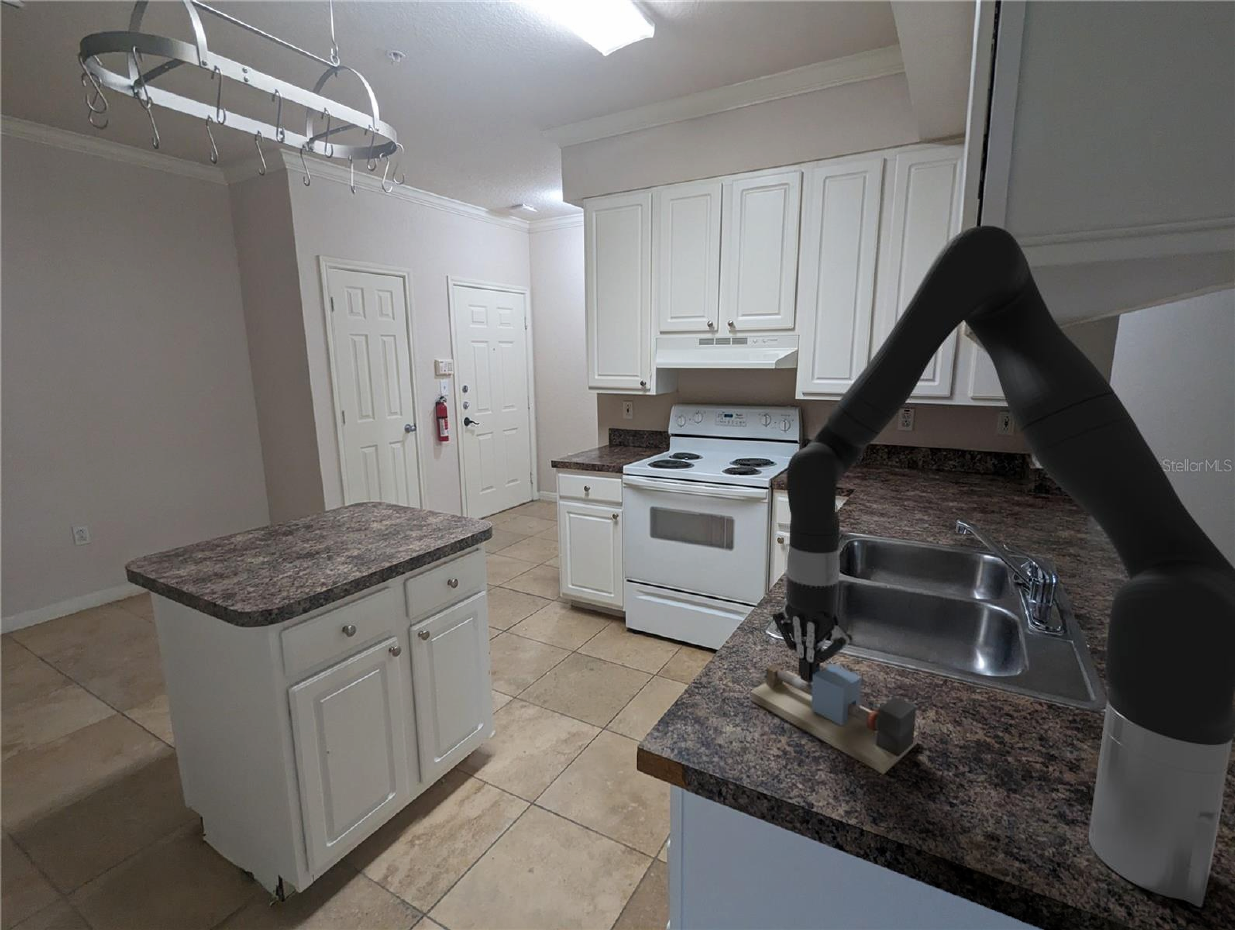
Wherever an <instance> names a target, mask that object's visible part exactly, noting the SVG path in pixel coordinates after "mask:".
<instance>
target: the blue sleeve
mask: <svg viewBox="0 0 1235 930" xmlns="http://www.w3.org/2000/svg"><path fill="white" fill-rule="evenodd" d="M862 683H863V677H862V676H861V675H858V674H857V673H854V672H851V671H849V670H847V669H845V668H843V667H840V666H837V665H835V664H833V663H829V664H828V665H827V666H825V667H823V668H820V671H818V672H816V673H815V674H813V682H812V708H811V710H813V711H815V712H817V713H818V714H820V715H822V716H824V717H826V718H828V719H830V720H832V721H834V722H836V723H838V724H840V725H841V726H842V725H844V724H845V723H846V722H847V716H848V705H850V704H854V705H856V706H858V707H860V705H861V702H862V701H861V700H862V686H863V685H862Z"/></svg>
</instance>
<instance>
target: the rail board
mask: <svg viewBox="0 0 1235 930" xmlns="http://www.w3.org/2000/svg"><path fill="white" fill-rule="evenodd" d="M765 672H766V673H765V682H764V683H762V684H761V685H759V686H757V687H756V688H754V689H752V690H750V692H749V693H750V694H749V695H750V697H749V701H752V702H753V703H755V704H757V705H759V706H760V707H762V708H764V709H766V710H768V711H769V712H771V713H773V714H774V715H777V716H779V717H780V718H782V719H784V720H785V721H787V722H789V723H791V724H793V725H795V726H796V727H798V728H800V729H801V730H804V731H805V732H807V733H808V734H810V735H812V736H814V737H816V738H818V739H820V740H822V741H823V742H825V743H827V744H829V745H830V746H832V747H834V748H835V749H838V750H839V751H841V752H842V753H845V754H846V755H848V756H850V757H852V758H854V759H855V760H857V761H859V762H861V763H863V764H864V765H866V766H868V767H870V768H871V769H873V770H875V771H877V772H879V773H880V774H882V775H885V774H886V773H887V772H888V771H889V770H890V769H891V768H892V767H893V766H895V764H897V763H898V762H899V761H900V760H901V759H902V758H903V757H904V756H905V755H907V753H909V751H910V750H912V749H913V748H914V747H915V746H916V745H917V744H918V743H919V734H920V733H919V732H917V731H915V724H916V712H917V706H916V705H914V704H911V703H910V702H907V701H906V700H905V701H904V700H902V699H900V698H897V697H896V696H893V697H892V698H890V699H889V700H888V701H887V702H885V703H884V704H883V705H881V706H880V707H878V711H876V710H871V709H869V708H867V707H865V706H863V705H861V704H860V707H858V706H856V705H854V704H850V705H848V716H847V722H846V723H845V724H844V725H842V726H841V725H840V724H838V723H836V722H834V721H832V720H830V719H828V718H826V717H824V716H822V715H820V714H818V713H817V712H815V711H813V710H811V708H812V683H813V682H812V683H808V682H806V681H804V680H802V679H801V675H798V674H795V673H794V672H791V671H789V670H784V667H783V666H782V665H780V664H778V663H773V664H771V665H769V666H768V667H765Z"/></svg>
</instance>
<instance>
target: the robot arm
mask: <svg viewBox="0 0 1235 930" xmlns="http://www.w3.org/2000/svg"><path fill="white" fill-rule="evenodd" d="M1025 255H1026V254H1024V252H1023V250H1022V249H1021V246H1020V244H1019V242H1018V241H1017V240H1016V238H1015V237H1014V236H1013V235H1012V234H1011V233H1010V232H1009V231H1008V230H1005V228H1001V227H998V226H996V225H979V226H978V225H977V226H974V227H970V228H967V229H965V230H963V231H961V232H959V233H958V234H956V235H955V236H954V237H951V239H950V240H949V241H947V242H946V243H945V244H944V245H943V247H942V248H941V249H940V250H939V252H938V254H937V255H936V257H935V258H934V260H933V262H932V263H931V265H930V267H929V269H927V271H926V273H925V275H924V277H923V279H922V281H921V282H920V284H919V286H918V287H917V289H916V291H915V293H914V294H913V296H912V297H911V300H910V301H909V303H908V305H906V308H905V310H904V311H903V313H902V314H901V316H900V317H899V319H898V320H897V322H896V324H895V325H894V326H893V328H892V330H891V331H890V333H889V335H888V336H887V337H886V339H885V340H884V342H883V343H882V345H881V346H880V348H879V349H878V351H876V353H875V354H874V356H873V357H872V358H871V360H870V361H869V363H868V364H867V365H866V367H865V368H864V369H863V370H862V372H861V373H860V374H859V375H858V377H857V378H856V379H855V381H853V383H852V384H851V386H850V387H849V388H848V389H847V390H846V392H845V393H844V394H843V396H842V397H840V399H839V400H838V402H837V404H836V405H834V407H833V409H832V410H831V411H830V413H829V414H828V417H827V422H826V423H825V424H824V426H822V428H821V429H820V430H819V431H818V432H817V434H816V435H815V436H814V437H813V439H811V441H810V442H809V443H808V444H807V445H806V446H804V447H803V448H801V449H799V450H797V451H796V452H795V453H794V454H793V455H792V456H791V458H790V460H789V462H788V465H787V469H786V470H787V471H786V491H787V492H786V493H787V499H788V507H789V512H790V521H789V522H790V523H789V542H788V543H789V547H788V548H789V549H788V552H787V560H786V586H785V587H786V589H785V599H786V600H785V601H786V602H787V603H786V604H785V607H784V609H783V610H781V611H777V612H776V613H774V614H773V615H772V619H773V620H772V621H774V623H775V625H776V627H777V629H778V631H779V634H780V635H781V636H782V638H783V640H784V642H785V644H786V646H787V648H788V649H789V650H791V651H795V653H796V655H797V657H798V674H799V675H798V676H800V677H801V679H802V680H804V681H806V682H808V683H813V674H815V673H816V672H818V671H820V670H821V664H823V663H825V662H826V661H828V660H830V659H832V658H834V656H836V655H837V654H838V653H839V652H840V651H842V650H843V649H844V648H846V646H848V645H849V644H850V643H851V642H852V641H853V636H852V635H851V634H850V633H846V634H845V633H844V631H843V630H842V629H841V628H840V627H839V625H840V623H839V622H840V621H839V619H838V616H837V610H838V605H839V589H840V587H839V586H840V585H839V584H840V569H841V568H840V567H841V566H840V565H841V564H840V562H841V561H840V551H839V549H840V548H839V546H840V545H839V544H840V517H839V514H838V513H837V512H836V505H837V503H836V502H837V486H838V483H839V482H840V481H841V480H842V478H843V477H844V476H845V475H846V474H847V473H848V472H849V470H850V469H851V467H853V465H854V464H855V462H856V461H857V460H858V458H859V457H860V455H861V454H862V453H863V451H864V450H865V448H866V447H867V446H868V445H870V444H871V443H872V442H873V441H874V440H875V439H876V438H877V437H878V436H879V434H881V433H882V431H883V430H884V429H885V428H886V427H887V426H888V424H889V423H890V422H891V421H892V419H894V417H895V416H896V415H897V414H898V413H899V411H901V408H903V406H904V405H905V403H906V402H907V401H908V399H909V398H910V396H911V395H912V394H913V392H914V390H915V389H916V386H917V384H918V383H919V381H920V379H921V378H922V376H923V374H924V372H925V371H926V369H927V367H928V365H929V364H930V362H931V360H932V358H933V357H935V356H934V355H935V354H936V353H937V351H938V350H939V348H940V347H941V346H942V345H943V343H944V342H945V341H946V340H947V338H948V337H950V335H951V334H952V333H953V331H954V330H955V329H957V328H958V326H960V324H961V323H963V322H965V324H966V325H967V326H968V327H969V329H970V330H971V332H972V333H973V334H974V336H976V339H977V340H978V341H979V343H981V345H982V347H983V348H984V349H985V351H986V353H987V354H988V356H989V358H990V359H991V361H992V363H993V364H992V365H993V367H994V368H995V371H996V374H997V377H998V380H999V381H998V382H999V384H1000V387H1001V390H1002V393H1003V396H1004V398H1005V401H1006V405H1007V407H1008V408H1009V411H1010V414H1011V416H1012V418H1013V421H1014V422H1015V424H1016V426H1017V429H1018V430H1019V432H1020V433H1021V435H1022V436H1023V437H1022V438H1023V439H1024V441H1025V442H1026V444H1027V446H1028V447H1029V449H1030V451H1031V453H1032V455H1033V456H1034V458H1035V460H1036V461H1037V462H1038V464H1039V465H1040V467H1041V468H1042V469H1043V470H1044V472H1045V473H1046V474H1047V475H1048V476H1049V478H1051V479H1052V481H1053V482H1054V483H1055V484H1057V486H1058V487H1059V488H1060V489H1062V490H1063V491H1064V492H1065V493H1066V494H1067V495H1068V496H1069V497H1070V498H1071V499H1072V500H1073V501H1074V502H1076V503H1077V504H1078V506H1080V507H1081V508H1082V509H1083V510H1084V511H1085V512H1086V513H1087V514H1089V516H1091V517H1092V519H1094V521H1095V522H1096V523H1097V524H1098V525H1099V527H1100V528H1101V529H1102V531H1103V532H1104V533H1105V535H1106V536H1107V538H1108V540H1109V541H1110V543H1111V544H1112V547H1113V548H1114V550H1115V552H1116V554H1117V555H1118V557H1119V559H1120V561H1121V563H1122V565H1123V568H1124V569H1125V571H1126V574H1127V576H1128V578H1129V580H1126V582H1124V583H1123V584H1122V585H1121V587H1119V589H1118V590H1117V592H1116V593H1115V596H1114V598H1113V601H1112V605H1111V608H1110V615H1109V619H1108V620H1109V621H1108V628H1107V629H1108V630H1107V640H1106V651H1105V652H1106V653H1105V661H1104V664H1105V665H1104V674H1105V675H1104V676H1105V680H1106V683H1107V685H1108V690H1107V692H1108V693H1107V699H1106V706H1105V707H1106V708H1105V714H1104V721H1103V729H1102V736H1101V737H1102V738H1101V743H1100V751H1099V757H1098V758H1099V759H1098V765H1097V772H1096V779H1095V785H1094V786H1095V787H1094V793H1093V800H1092V809H1091V816H1090V819H1089V830H1088V831H1089V833H1088V840H1089V844H1090V847H1091V848H1092V850H1093V851H1094V853H1095V854H1096V856H1098V858H1099V859H1100V860H1101V861H1102V862H1103V863H1104V864H1105V865H1106V866H1107V867H1109V868H1110V869H1111V870H1112V871H1114V872H1115V873H1117V874H1118V875H1119V876H1121V877H1122V878H1124V879H1126V880H1127V881H1128V882H1131V883H1133V884H1135V885H1136V886H1139V887H1141V888H1142V889H1145V890H1148V891H1150V892H1152V893H1155V894H1157V895H1161V896H1164V897H1167V898H1173V899H1178V900H1184V901H1186V902H1188V903H1190V904H1192V905H1194V906H1195V907H1198V908H1202V907H1203V905H1204V899H1205V895H1206V891H1207V887H1208V882H1209V878H1210V874H1211V868H1212V863H1213V858H1214V852H1215V847H1216V841H1217V840H1216V839H1217V836H1218V829H1219V825H1220V818H1221V811H1222V806H1223V801H1224V795H1223V794H1224V789H1225V783H1226V778H1227V772H1228V768H1229V761H1230V755H1231V751H1232V750H1231V749H1232V744H1233V739H1234V736H1235V707H1234V698H1235V567H1234V565H1232V563H1230V561H1229V560H1228V559H1227V558H1226V557H1225V554H1223V553H1222V552H1221V550H1220V549H1219V548H1218V547H1217V545H1215V544H1214V542H1213V541H1212V540H1211V539H1210V537H1209V536H1208V535H1207V533H1206V532H1205V531H1204V530H1203V529H1202V527H1200V525H1199V524H1198V523H1197V522H1196V520H1195V519H1194V517H1193V516H1192V515H1191V513H1189V511H1188V509H1187V508H1186V507H1185V505H1184V504H1183V502H1182V501H1181V499H1180V497H1179V496H1178V494H1177V493H1176V491H1175V489H1174V486H1173V485H1172V483H1171V482H1170V479H1169V478H1168V475H1167V474H1166V472H1165V471H1164V468H1163V467H1162V465H1161V463H1160V462H1159V460H1158V459H1157V457H1156V456H1155V454H1154V453H1153V450H1152V448H1151V447H1150V446H1149V444H1148V443H1147V441H1146V440H1145V438H1144V436H1143V435H1142V433H1141V431H1140V429H1139V428H1138V426H1137V424H1136V422H1135V420H1134V419H1133V417H1132V416H1131V415H1130V413H1129V412H1128V410H1127V408H1126V406H1125V405H1124V404H1123V403H1122V401H1121V399H1120V398H1119V396H1118V394H1117V393H1115V389H1113V388H1112V386H1111V384H1110V383H1109V382H1108V381H1107V379H1106V378H1105V377H1104V375H1102V373H1101V372H1100V371H1099V370H1098V368H1097V367H1096V366H1095V365H1094V364H1093V362H1092V361H1091V360H1090V359H1089V358H1088V357H1087V356H1086V355H1085V354H1084V353H1083V351H1082V350H1080V348H1079V347H1078V346H1077V345H1075V343H1074V342H1072V340H1071V339H1070V338H1069V337H1068V336H1067V335H1066V334H1065V333H1064V332H1063V330H1062V329H1061V328H1060V327H1059V325H1058V324H1057V323H1056V321H1055V319H1054V318H1053V316H1052V314H1051V312H1050V310H1049V308H1048V307H1047V304H1046V302H1045V301H1044V299H1043V297H1042V296H1043V295H1041V293H1040V290H1039V288H1038V286H1037V284H1036V281H1035V279H1034V276H1033V274H1032V271H1031V269H1030V265H1029V262H1028V260H1027V258H1026V256H1025ZM830 635H831V637H830V643H831V644H829V646H827V647H826V648H825V649H824V645H826V640H827V638H828V637H829V636H830Z"/></svg>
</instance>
